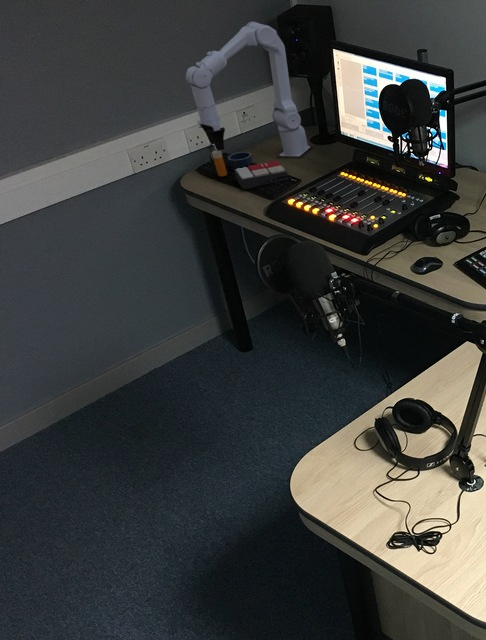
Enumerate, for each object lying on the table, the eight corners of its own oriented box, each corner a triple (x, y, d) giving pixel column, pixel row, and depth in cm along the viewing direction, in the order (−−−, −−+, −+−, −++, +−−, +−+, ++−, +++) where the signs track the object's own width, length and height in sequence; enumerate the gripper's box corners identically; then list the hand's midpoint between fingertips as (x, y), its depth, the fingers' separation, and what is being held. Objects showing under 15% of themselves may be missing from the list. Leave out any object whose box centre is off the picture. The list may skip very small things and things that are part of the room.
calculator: (286, 169, 276) (240, 177, 270) (289, 181, 278) (243, 190, 272) (278, 159, 284) (233, 167, 278) (280, 171, 286) (235, 179, 280)
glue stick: (221, 174, 286) (214, 149, 281) (229, 174, 285) (222, 150, 280) (216, 177, 284) (210, 153, 279) (224, 177, 283) (218, 153, 278)
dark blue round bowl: (237, 162, 294) (235, 151, 292) (258, 163, 292) (255, 152, 290) (226, 171, 288) (223, 160, 286) (247, 171, 286) (244, 160, 284)
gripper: (188, 103, 275) (199, 143, 283) (199, 113, 264) (211, 155, 272) (209, 98, 277) (220, 138, 285) (221, 108, 267) (232, 150, 275)
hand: (217, 146), depth 279 cm, fingers open, 7 cm apart
